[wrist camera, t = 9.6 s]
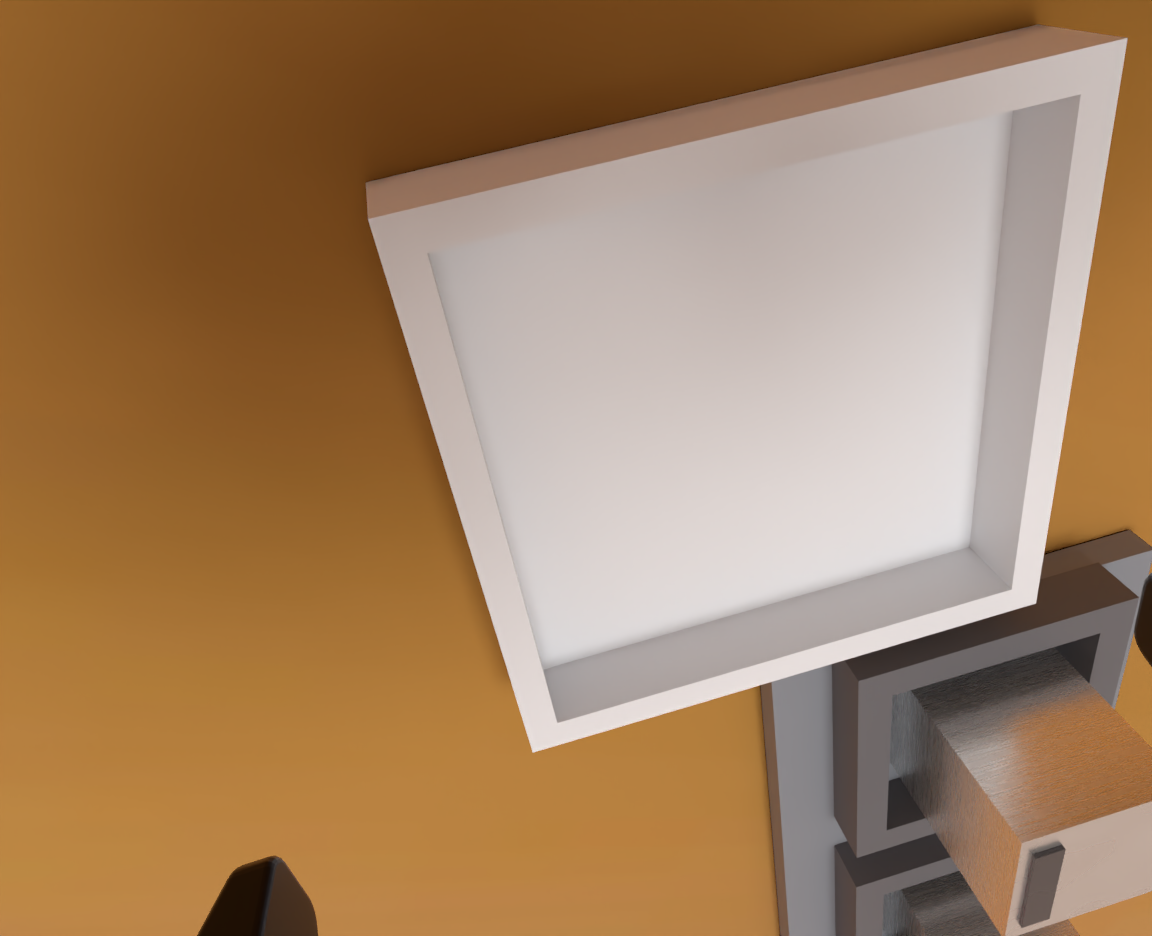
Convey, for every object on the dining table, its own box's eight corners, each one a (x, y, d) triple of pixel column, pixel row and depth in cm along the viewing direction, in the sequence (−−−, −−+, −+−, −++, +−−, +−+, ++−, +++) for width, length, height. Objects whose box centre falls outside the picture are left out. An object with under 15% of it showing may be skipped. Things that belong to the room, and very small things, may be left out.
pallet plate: (1130, 526, 27) (1199, 579, 24) (1052, 867, 37) (1096, 926, 35) (756, 634, 26) (793, 700, 23) (781, 955, 36) (809, 1022, 34)
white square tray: (1038, 24, 18) (1127, 38, 16) (980, 548, 26) (1035, 603, 24) (365, 182, 17) (367, 219, 15) (517, 682, 25) (532, 752, 22)
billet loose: (1033, 625, 26) (1195, 792, 21) (1017, 723, 29) (1159, 894, 24) (893, 667, 26) (1025, 848, 21) (890, 763, 29) (1007, 944, 24)
